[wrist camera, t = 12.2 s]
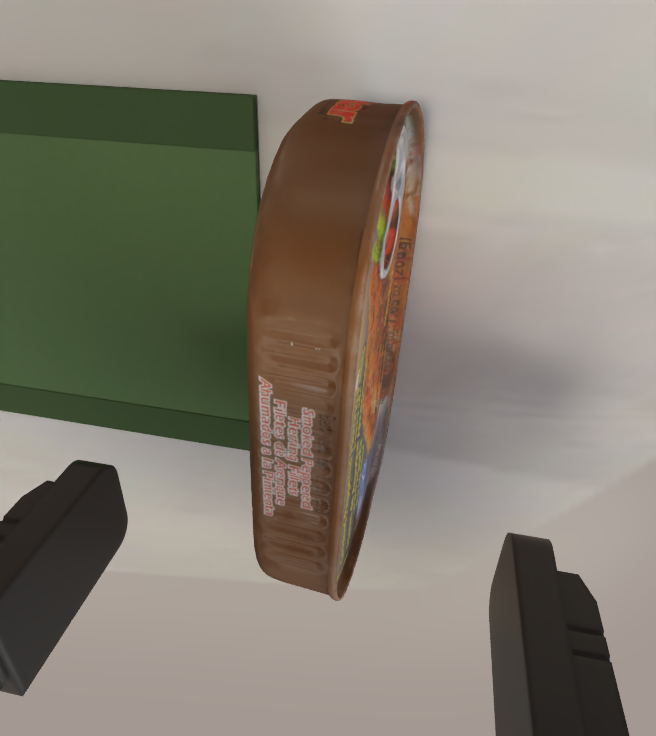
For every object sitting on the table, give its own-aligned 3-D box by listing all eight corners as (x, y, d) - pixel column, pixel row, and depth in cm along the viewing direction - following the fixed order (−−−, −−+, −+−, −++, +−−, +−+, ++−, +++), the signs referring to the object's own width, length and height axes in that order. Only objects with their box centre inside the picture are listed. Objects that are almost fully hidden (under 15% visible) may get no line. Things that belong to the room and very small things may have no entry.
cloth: (-134, 72, 19) (-143, 72, 19) (256, 94, 17) (252, 95, 16) (-13, 403, 26) (-19, 407, 26) (268, 448, 24) (266, 453, 24)
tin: (381, 477, 24) (347, 666, 17) (309, 464, 24) (247, 642, 17) (438, 87, 16) (418, 132, 9) (329, 78, 16) (228, 114, 9)
